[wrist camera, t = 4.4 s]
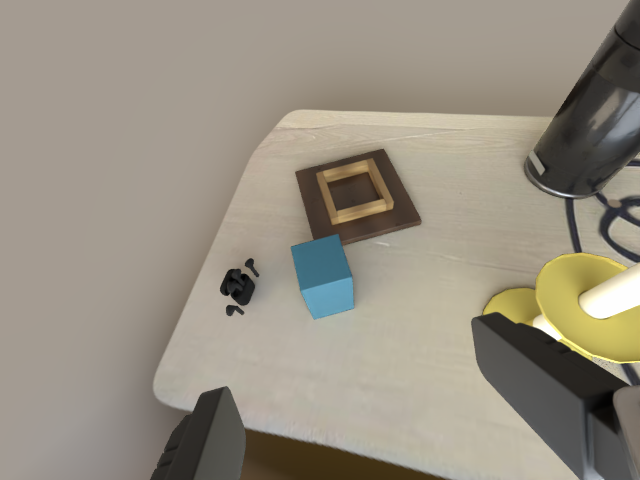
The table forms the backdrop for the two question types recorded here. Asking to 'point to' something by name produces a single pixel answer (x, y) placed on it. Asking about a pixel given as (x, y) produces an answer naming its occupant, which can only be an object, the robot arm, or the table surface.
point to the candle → (581, 306)
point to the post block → (324, 276)
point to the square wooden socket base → (356, 198)
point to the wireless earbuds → (238, 287)
